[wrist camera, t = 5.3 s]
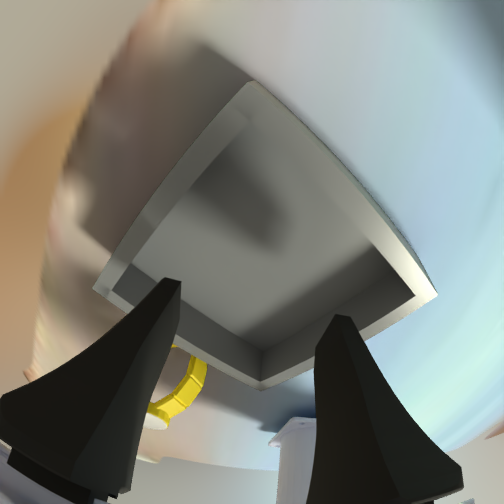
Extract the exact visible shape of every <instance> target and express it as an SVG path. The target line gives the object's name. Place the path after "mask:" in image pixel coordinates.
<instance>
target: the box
mask: <svg viewBox="0 0 504 504" xmlns="http://www.w3.org/2000/svg"><path fill="white" fill-rule="evenodd" d="M164 277H167V278H171V279H175V280H179V281H182V283H181V301H180V320H179V324H178V327H177V331H176V334H175V337H174V341H173V344H174V345H176V346H178V347H179V348H181V349H183V350H184V351H186V352H188V353H190V354H191V355H193V356H195V357H196V358H198V359H200V360H202V361H203V362H205V363H207V364H209V365H211V366H212V367H214V368H216V369H218V370H220V371H222V372H223V373H225V374H227V375H229V376H231V377H233V378H235V379H237V380H239V381H241V382H243V383H245V384H247V385H249V386H251V387H253V388H255V389H257V390H259V391H263V390H265V389H268V388H270V387H272V386H275V385H277V384H279V383H282V382H284V381H286V380H288V379H291V378H293V377H295V376H297V375H299V374H302V373H304V372H306V371H308V370H310V369H312V368H314V359H315V347H316V345H317V344H318V342H319V340H320V339H321V337H322V335H323V334H324V332H325V330H326V329H327V327H328V325H329V324H330V322H331V320H332V318H333V317H334V315H335V314H339V315H345V316H350V317H351V318H352V320H353V322H354V324H355V326H356V327H357V329H358V331H359V333H360V335H361V337H362V339H363V340H364V341H366V340H368V339H369V338H371V337H373V336H375V335H376V334H378V333H380V332H381V331H383V330H385V329H386V328H388V327H390V326H391V325H393V324H395V323H396V322H398V321H399V320H401V319H403V318H404V317H406V316H407V315H409V314H410V313H412V312H414V311H415V310H417V309H418V308H420V307H421V306H423V305H424V304H426V303H427V302H429V301H430V300H431V299H433V298H434V297H436V296H437V295H438V294H437V292H436V290H435V288H434V286H433V284H432V282H431V280H430V278H429V276H428V274H427V272H426V270H425V268H424V267H423V265H422V263H421V261H420V259H419V258H418V256H417V255H416V254H415V252H414V251H413V249H412V248H411V247H410V245H409V244H408V243H407V241H406V240H405V238H404V237H403V236H402V234H401V233H400V232H399V230H398V229H397V228H396V227H395V225H394V224H393V223H392V221H391V220H390V219H389V218H388V216H387V215H386V214H385V213H384V211H383V210H382V209H381V208H380V206H379V205H378V204H377V203H376V201H375V200H374V199H373V198H372V197H371V195H370V194H369V193H368V192H367V191H366V189H365V188H364V187H363V186H362V185H361V184H360V183H359V181H358V180H357V179H356V178H355V177H354V176H353V175H352V173H351V172H350V171H349V170H348V169H347V168H346V167H345V166H344V165H343V163H342V162H341V161H340V160H339V159H338V158H337V157H336V156H335V155H334V154H333V153H332V152H331V151H330V150H329V149H328V147H327V146H326V145H325V144H324V143H323V142H322V141H321V140H320V139H319V138H318V137H317V136H316V135H315V134H314V133H313V132H312V131H311V130H310V129H309V128H308V127H307V126H306V125H305V124H304V123H303V122H302V121H301V120H299V119H298V118H297V117H296V116H295V115H294V114H293V113H292V112H291V111H290V110H289V109H288V108H287V107H286V106H285V105H283V104H282V103H281V102H280V101H279V100H278V99H277V98H276V97H275V96H273V95H272V94H271V93H270V92H269V91H268V90H267V89H265V88H264V87H263V86H262V85H261V84H260V83H258V82H257V81H256V80H254V81H250V82H247V83H246V84H245V85H244V86H243V87H242V88H241V89H240V90H239V91H238V92H237V93H236V95H235V96H234V97H233V98H232V99H231V100H230V101H229V102H228V103H227V104H226V105H225V106H224V108H223V109H222V110H221V111H220V112H219V113H218V114H217V115H216V116H215V118H214V119H213V120H212V121H211V122H210V123H209V124H208V126H207V127H206V128H205V129H204V130H203V131H202V133H201V134H200V135H199V136H198V137H197V139H196V140H195V141H194V142H193V143H192V145H191V146H190V147H189V148H188V150H187V151H186V152H185V153H184V154H183V156H182V157H181V158H180V159H179V161H178V162H177V163H176V165H175V166H174V167H173V168H172V170H171V171H170V172H169V174H168V175H167V176H166V178H165V179H164V180H163V182H162V183H161V184H160V186H159V187H158V188H157V190H156V191H155V192H154V194H153V195H152V196H151V198H150V199H149V201H148V202H147V203H146V205H145V206H144V208H143V209H142V211H141V212H140V213H139V215H138V216H137V218H136V219H135V221H134V222H133V224H132V225H131V227H130V228H129V230H128V231H127V233H126V234H125V236H124V237H123V239H122V240H121V242H120V243H119V245H118V246H117V248H116V250H115V251H114V253H113V254H112V256H111V258H110V259H109V261H108V262H107V264H106V266H105V267H104V269H103V271H102V272H101V274H100V276H99V277H98V279H97V281H96V283H95V284H94V286H93V288H92V289H93V290H95V291H96V292H97V293H99V294H100V295H101V296H103V297H104V298H106V299H107V300H108V301H110V302H111V303H112V304H114V305H115V306H117V307H118V308H120V309H121V310H122V311H124V312H125V313H127V314H128V313H129V312H130V311H131V310H132V309H133V308H134V307H135V306H136V305H138V304H139V303H140V302H141V301H142V300H143V299H144V297H145V296H146V295H147V294H148V293H149V292H150V291H151V290H152V289H153V288H154V287H155V286H156V285H157V284H158V283H159V281H160V280H161V279H162V278H164Z"/></svg>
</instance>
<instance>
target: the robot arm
mask: <svg viewBox="0 0 504 504" xmlns="http://www.w3.org/2000/svg"><path fill="white" fill-rule="evenodd" d="M181 283H182V281H179V280H175V279H171V278H167V277H164V278H162V279H161V280H160V281H159V283H158V284H157V285H156V286H155V287H154V288H153V289H152V290H151V291H150V292H149V293H148V294H147V295H146V296H145V297H144V299H143V300H142V301H141V302H140V303H139V304H138V305H136V306H135V307H134V308H133V309H132V310H131V311H130V312H129V313H128V314H127V315H126V316H125V317H124V318H123V319H122V320H121V321H120V322H118V323H117V324H116V325H115V326H114V327H113V328H112V329H110V330H109V331H108V332H107V333H106V334H105V335H103V336H102V337H101V338H100V339H98V340H97V341H96V342H95V343H93V344H92V345H91V346H89V347H88V348H87V349H85V350H84V351H83V352H81V353H80V354H78V355H77V356H75V357H74V358H72V359H71V360H69V361H68V362H66V363H65V364H63V365H61V366H60V367H58V368H57V369H55V370H53V371H51V372H49V373H47V374H46V375H44V376H42V377H40V378H38V379H37V380H35V381H33V382H31V383H29V384H26V385H24V386H22V387H20V388H17V389H15V390H13V391H10V392H8V393H6V394H3V395H2V397H1V398H0V439H1V440H2V441H4V442H5V443H7V444H8V445H9V446H11V447H12V449H11V450H10V449H8V448H7V447H6V446H4V445H3V444H1V443H0V504H110V503H107V499H108V496H110V497H112V498H115V499H117V497H118V493H120V494H123V493H126V492H128V491H130V490H131V483H132V477H133V471H134V465H135V460H136V455H137V450H138V446H139V441H140V437H141V433H142V429H143V424H144V421H145V417H146V413H147V409H148V406H149V402H150V399H151V396H152V393H153V391H154V388H155V386H156V383H157V381H158V378H159V376H160V374H161V371H162V369H163V366H164V364H165V361H166V359H167V356H168V354H169V352H170V349H171V347H172V344H173V341H174V337H175V334H176V331H177V327H178V324H179V320H180V301H181ZM314 387H315V405H316V418H305V417H293V418H291V419H290V420H289V421H288V422H287V423H286V424H285V425H284V426H283V428H282V429H281V430H280V431H279V432H278V433H277V434H276V435H275V436H274V437H273V438H272V439H271V440H270V441H269V446H271V447H280V462H279V476H278V489H277V501H276V504H434V500H437V499H439V498H442V497H445V496H448V495H451V494H453V493H455V492H458V491H460V490H462V489H463V488H464V484H463V476H462V469H461V467H460V466H459V465H458V464H457V463H456V462H455V461H454V460H452V459H451V458H450V457H449V456H448V455H447V454H445V453H444V452H443V451H442V450H441V449H440V448H439V447H438V446H437V445H436V444H435V443H434V442H433V441H432V440H431V439H430V438H429V437H428V436H427V435H426V434H425V433H424V431H423V430H422V429H421V428H420V427H419V425H418V424H417V423H416V422H415V421H414V420H413V418H412V417H411V416H410V415H409V413H408V412H407V411H406V409H405V408H404V406H403V405H402V404H401V402H400V401H399V399H398V398H397V397H396V395H395V394H394V392H393V391H392V389H391V387H390V386H389V384H388V383H387V381H386V379H385V378H384V376H383V374H382V373H381V371H380V369H379V368H378V366H377V364H376V362H375V361H374V359H373V357H372V355H371V353H370V352H369V350H368V348H367V346H366V344H365V342H364V340H363V339H362V337H361V335H360V333H359V331H358V329H357V327H356V326H355V324H354V322H353V320H352V318H351V317H350V316H345V315H339V314H335V315H334V317H333V318H332V320H331V322H330V324H329V325H328V327H327V329H326V330H325V332H324V334H323V335H322V337H321V339H320V340H319V342H318V344H317V345H316V347H315V359H314ZM459 504H474V499H473V498H472V499H469V500H467V501H464V502H461V503H459Z"/></svg>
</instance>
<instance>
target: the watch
mask: <svg viewBox="0 0 504 504" xmlns="http://www.w3.org/2000/svg"><path fill="white" fill-rule="evenodd" d="M173 347H178V346H176V345H174V344H172V347H171V348H173ZM206 372H207V363H205V362H203V361H202V360H200V359H198V358H196V357H195V356H193V355H191V358H190V362H189V365H188V369H187V372H186V375H185V376H184V378H183V379H182V380H181V382H180V383H179V384H178V385H177V387H176V388H175V389H174V390H173V392H172V393H171V394H169V395H167V396H166V397H164V398H162V399H161V400H159V401H157V402H156V403H152V402H149V406H148V409H147V413H146V417H145V421H144V424H143V427H145V428H149V429H154V430H163V429H166V428H167V427H168V426H169V422H170V418H171V417H173V416H175V415H177V414H178V413H180V412H182V411H183V410H185V409H186V407H189V405H190V404H191V403H192V401H193V400H194V399H195V397H196V396H197V395H198V393H199V392H200V391H201V389H202V387H203V385H204V381H205V376H206Z"/></svg>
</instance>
